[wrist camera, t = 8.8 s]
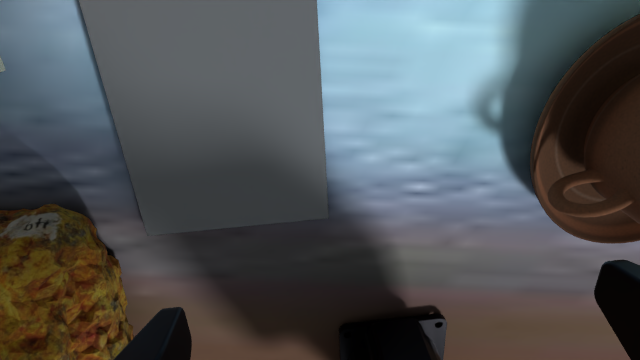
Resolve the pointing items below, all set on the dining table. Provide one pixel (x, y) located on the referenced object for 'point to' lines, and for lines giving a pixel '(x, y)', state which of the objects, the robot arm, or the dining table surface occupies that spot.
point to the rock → (58, 289)
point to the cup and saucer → (593, 142)
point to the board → (1, 66)
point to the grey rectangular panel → (215, 108)
